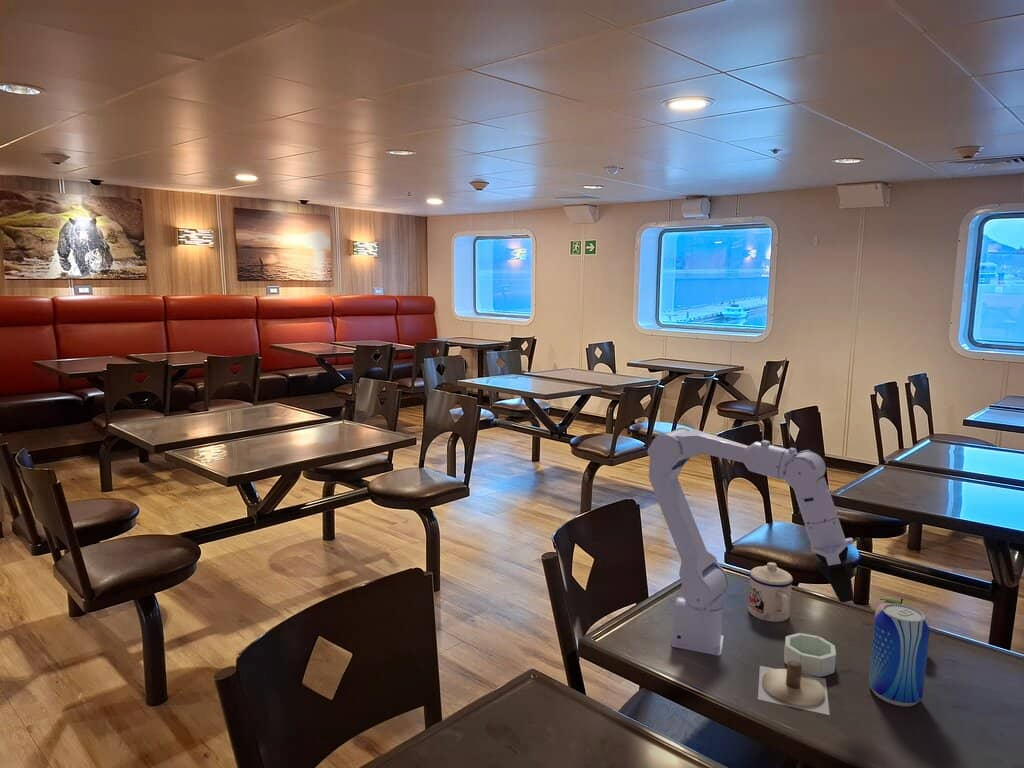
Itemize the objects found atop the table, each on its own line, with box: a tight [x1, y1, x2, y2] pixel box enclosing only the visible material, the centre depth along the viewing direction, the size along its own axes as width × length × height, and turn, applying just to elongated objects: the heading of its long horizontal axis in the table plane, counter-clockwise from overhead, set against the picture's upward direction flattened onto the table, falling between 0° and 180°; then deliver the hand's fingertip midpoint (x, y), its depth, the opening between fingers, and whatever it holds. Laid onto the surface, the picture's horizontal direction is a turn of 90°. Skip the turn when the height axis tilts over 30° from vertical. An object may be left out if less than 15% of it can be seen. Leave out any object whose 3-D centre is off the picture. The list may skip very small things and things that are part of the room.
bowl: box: [783, 632, 837, 678], centre depth 132 cm, size 9×9×4 cm
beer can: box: [868, 604, 931, 707], centre depth 122 cm, size 8×8×16 cm
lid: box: [762, 661, 825, 707], centre depth 124 cm, size 10×10×5 cm
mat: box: [757, 665, 831, 716], centre depth 124 cm, size 12×12×1 cm
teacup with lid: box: [747, 562, 794, 623], centre depth 151 cm, size 12×9×12 cm
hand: (845, 594), depth 121 cm, fingers open, 7 cm apart
